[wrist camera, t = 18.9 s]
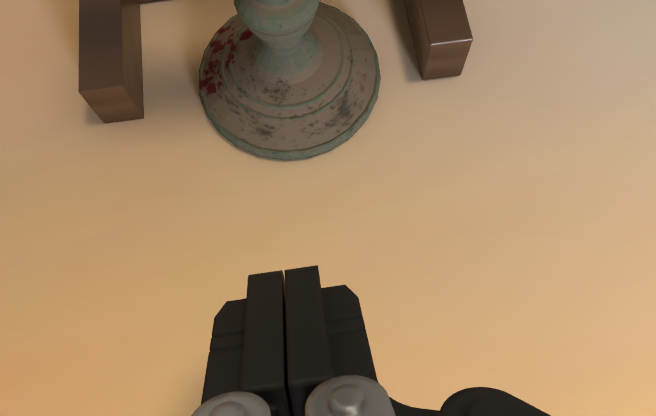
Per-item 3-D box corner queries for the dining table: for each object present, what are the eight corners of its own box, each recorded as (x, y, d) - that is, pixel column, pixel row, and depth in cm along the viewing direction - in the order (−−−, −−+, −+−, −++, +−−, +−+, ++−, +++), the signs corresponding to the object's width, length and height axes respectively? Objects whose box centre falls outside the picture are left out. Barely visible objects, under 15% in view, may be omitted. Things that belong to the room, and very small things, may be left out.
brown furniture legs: (461, 75, 29) (473, 39, 27) (104, 123, 29) (78, 91, 26) (426, -63, 32) (434, -109, 30) (102, -21, 32) (79, -64, 29)
